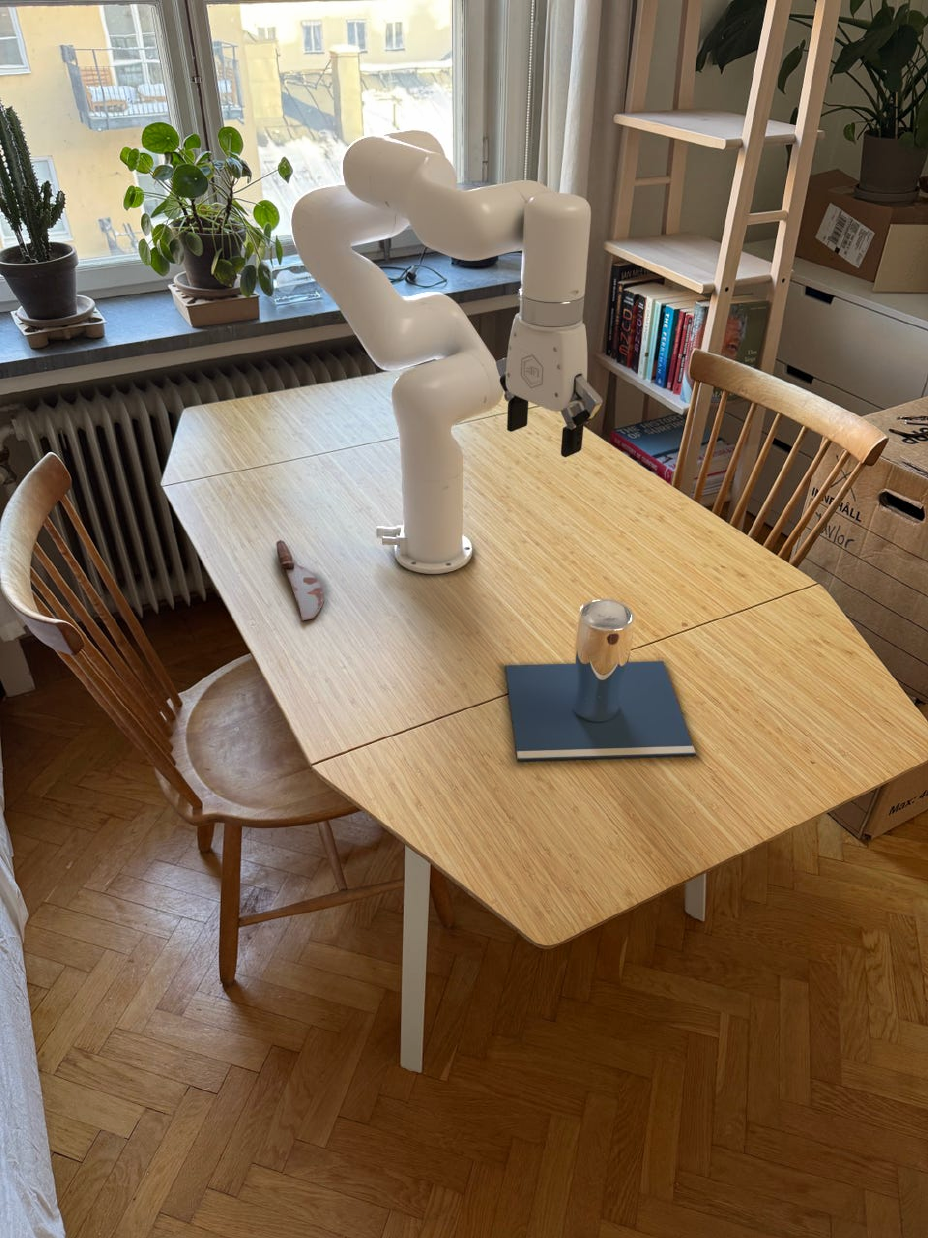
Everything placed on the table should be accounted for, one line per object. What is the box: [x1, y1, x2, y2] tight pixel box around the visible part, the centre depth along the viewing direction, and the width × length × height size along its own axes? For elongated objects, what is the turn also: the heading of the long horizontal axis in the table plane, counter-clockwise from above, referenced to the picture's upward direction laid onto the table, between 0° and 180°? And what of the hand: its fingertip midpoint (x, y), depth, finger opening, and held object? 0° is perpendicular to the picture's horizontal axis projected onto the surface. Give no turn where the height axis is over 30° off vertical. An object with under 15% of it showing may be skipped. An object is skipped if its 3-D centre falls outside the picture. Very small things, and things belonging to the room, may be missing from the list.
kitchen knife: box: [275, 539, 325, 621], centre depth 143 cm, size 21×2×5 cm
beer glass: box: [572, 598, 635, 722], centre depth 115 cm, size 7×7×15 cm
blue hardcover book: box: [504, 660, 697, 763], centre depth 120 cm, size 22×18×1 cm
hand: (543, 440), depth 120 cm, fingers open, 9 cm apart
